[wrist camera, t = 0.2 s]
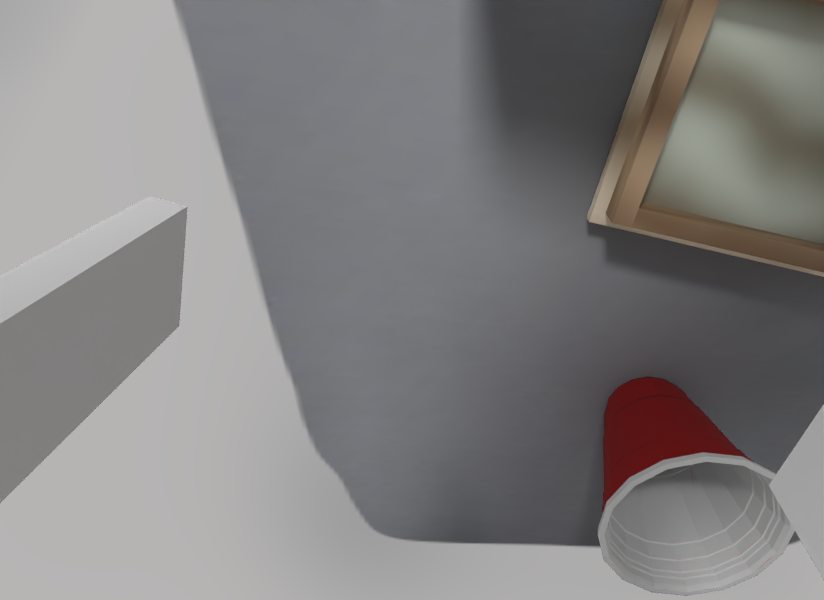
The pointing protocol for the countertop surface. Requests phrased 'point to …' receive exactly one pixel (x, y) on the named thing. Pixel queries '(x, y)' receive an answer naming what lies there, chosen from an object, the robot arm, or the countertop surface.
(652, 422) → the plastic cup
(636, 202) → the board
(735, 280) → the countertop surface
